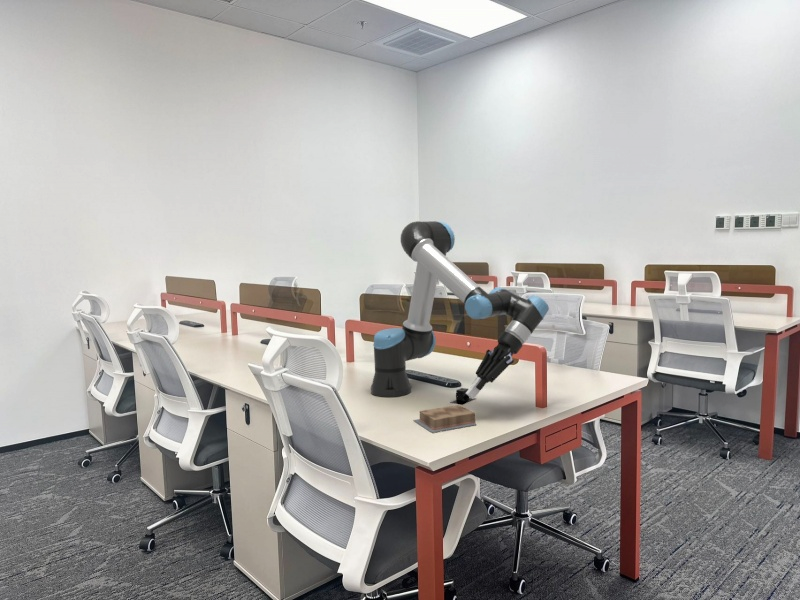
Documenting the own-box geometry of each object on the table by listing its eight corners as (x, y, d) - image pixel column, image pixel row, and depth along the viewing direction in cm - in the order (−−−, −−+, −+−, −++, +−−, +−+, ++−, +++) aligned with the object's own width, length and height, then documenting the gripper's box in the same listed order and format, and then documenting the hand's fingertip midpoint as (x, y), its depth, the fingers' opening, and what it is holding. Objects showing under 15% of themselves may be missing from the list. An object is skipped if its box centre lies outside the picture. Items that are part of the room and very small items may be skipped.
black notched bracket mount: (464, 396, 202) (463, 384, 202) (481, 399, 198) (481, 387, 197) (444, 404, 193) (444, 392, 192) (462, 408, 188) (461, 395, 188)
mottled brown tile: (458, 413, 179) (419, 420, 173) (458, 404, 179) (419, 411, 173) (475, 422, 170) (434, 429, 164) (475, 413, 170) (434, 420, 164)
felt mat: (413, 421, 174) (413, 420, 174) (455, 413, 180) (455, 412, 180) (432, 433, 162) (432, 432, 162) (476, 425, 168) (476, 424, 168)
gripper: (532, 348, 173) (488, 408, 168) (509, 342, 185) (466, 398, 180) (518, 333, 171) (472, 394, 166) (495, 328, 183) (451, 384, 178)
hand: (469, 396), depth 173 cm, fingers closed
